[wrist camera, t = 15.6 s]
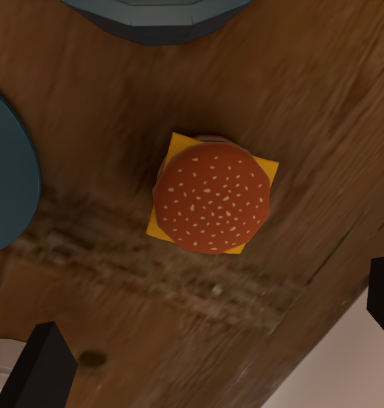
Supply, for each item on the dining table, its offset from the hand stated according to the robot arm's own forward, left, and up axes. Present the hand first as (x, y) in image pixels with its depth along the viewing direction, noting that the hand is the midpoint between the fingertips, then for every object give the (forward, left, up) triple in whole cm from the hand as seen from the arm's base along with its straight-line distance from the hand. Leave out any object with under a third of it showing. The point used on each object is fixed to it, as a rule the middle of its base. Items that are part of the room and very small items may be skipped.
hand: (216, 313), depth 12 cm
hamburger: (+1, 0, -16) cm, 16 cm away
